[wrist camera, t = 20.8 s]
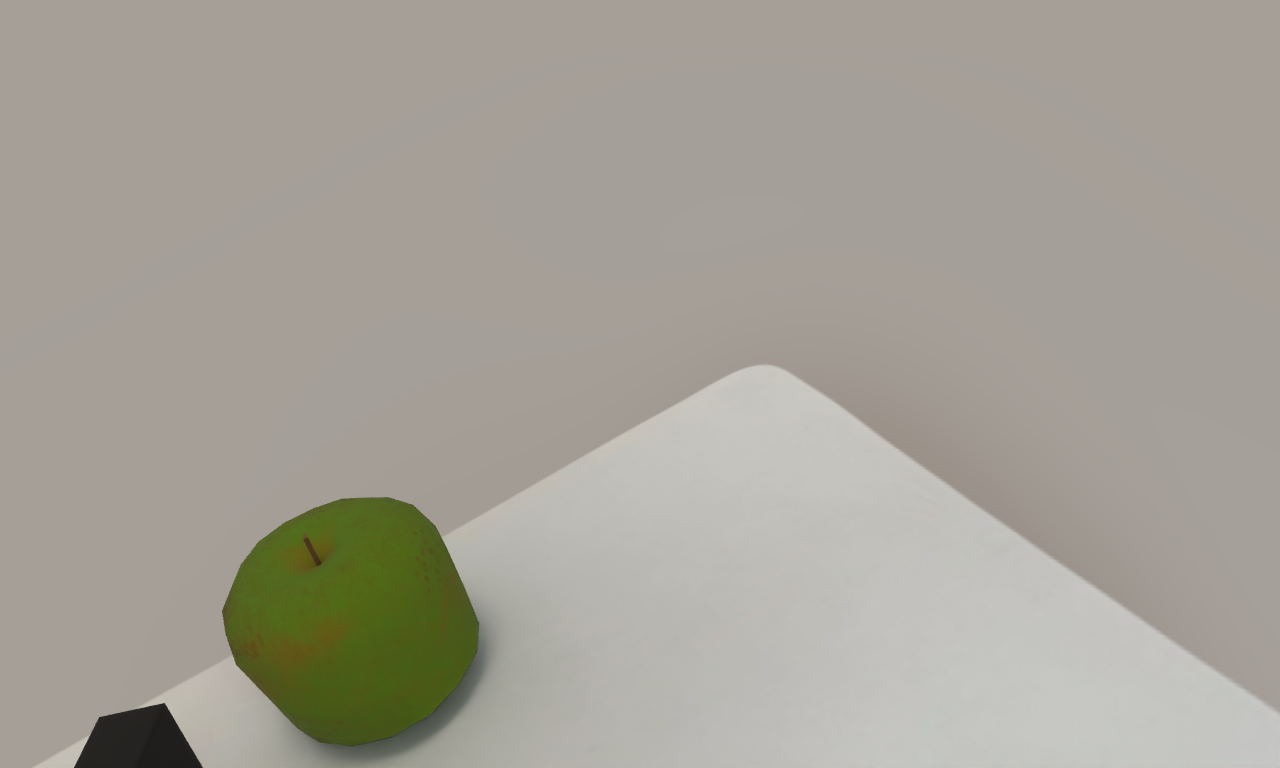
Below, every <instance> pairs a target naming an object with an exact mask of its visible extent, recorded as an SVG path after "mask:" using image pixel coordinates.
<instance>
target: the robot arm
mask: <svg viewBox="0 0 1280 768" xmlns="http://www.w3.org/2000/svg"><path fill="white" fill-rule="evenodd" d="M74 768H203V767H202V766H201V764H200V762H199V760H198V759H197V757H196V755H195V754H194V752H193V750H192V749H191V747H190V745H189V743H188V742H187V740H186V738H185V737H184V735H183V733H182V732H181V730H180V728H179V727H178V725H177V723H176V721H175V720H174V718H173V716H172V715H171V713H170V711H169V710H168V708H167V706H166V705H165V703H163V704H158V705H154V706H149V707H144V708H140V709H135V710H130V711H126V712H121V713H117V714H112V715H108V716H103V717H99V719H98V721H97V723H96V725H95V727H94V729H93V731H92V733H91V735H90V737H89V739H88V741H87V743H86V745H85V747H84V749H83V751H82V753H81V755H80V757H79V759H78V761H77V763H76V765H75V767H74Z"/></svg>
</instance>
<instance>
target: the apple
mask: <svg viewBox="0 0 1280 768" xmlns="http://www.w3.org/2000/svg"><path fill="white" fill-rule="evenodd" d="M222 613H223V618H224V626H225V632H226V636H227V639H228V642H229V645H230V648H231V651H232V654H233V657H234V660H235V662H236V665H237V666H238V667H239V668H240V669H241V670H242V671H243V672H244V673H245V674H246V675H247V676H248V677H249V679H250V680H251V681H252V682H253V683H254V684H255V685H256V686H257V687H258V688H259V689H260V690H261V691H262V692H263V693H264V694H265V695H266V696H267V697H268V698H269V699H270V700H271V701H272V702H273V703H274V704H275V705H276V706H277V707H278V708H279V709H280V711H281V712H282V713H283V714H284V715H285V716H286V717H287V718H288V719H289V720H290V721H291V722H292V723H293V724H294V725H295V726H296V727H297V728H298V729H300V730H301V731H303V732H304V733H306V734H307V735H309V736H311V737H312V738H314V739H315V740H317V741H318V742H322V743H330V744H339V745H347V746H354V745H358V744H363V743H367V742H372V741H376V740H380V739H385V738H389V737H392V736H394V735H396V734H397V733H399V732H401V731H403V730H404V729H406V728H408V727H410V726H411V725H413V724H415V723H417V722H418V721H420V720H422V719H424V718H425V717H427V716H429V715H430V714H431V713H432V712H433V711H434V710H435V709H436V708H437V707H438V706H439V705H440V704H441V703H442V701H443V700H444V699H445V698H446V697H447V696H448V695H449V694H450V693H451V692H452V691H453V690H454V689H455V688H456V687H457V685H458V684H459V683H460V681H461V679H462V678H463V676H464V674H465V672H466V671H467V669H468V667H469V665H470V663H471V662H472V660H473V658H474V656H475V655H476V653H477V644H478V631H479V622H478V620H477V617H476V615H475V612H474V610H473V607H472V605H471V602H470V600H469V598H468V595H467V593H466V590H465V588H464V585H463V583H462V581H461V579H460V577H459V574H458V572H457V570H456V568H455V565H454V563H453V561H452V559H451V556H450V554H449V552H448V550H447V548H446V546H445V544H444V542H443V540H442V538H441V536H440V534H439V532H438V530H437V528H436V526H435V525H434V524H433V523H432V522H431V521H430V520H429V519H427V518H426V517H425V516H424V515H423V514H422V513H421V512H420V511H419V510H418V509H417V508H416V507H414V505H412V504H408V503H405V502H402V501H399V500H395V499H392V498H389V497H388V498H387V497H386V498H349V499H340V500H337V501H334V502H331V503H328V504H325V505H322V506H319V507H316V508H314V509H311V510H309V511H307V512H305V513H303V514H301V515H299V516H297V517H295V518H293V519H291V520H289V521H287V522H285V523H284V524H282V525H281V526H279V527H278V528H277V529H275V530H274V531H273V532H271V533H270V534H269V535H267V536H266V537H264V538H263V539H262V540H260V541H259V542H258V543H257V545H256V546H255V547H254V549H253V550H252V551H251V553H250V554H249V555H248V556H247V558H246V559H245V560H244V562H243V563H242V564H241V566H240V568H239V571H238V573H237V576H236V578H235V580H234V583H233V585H232V588H231V590H230V593H229V595H228V598H227V600H226V603H225V605H224V607H223V610H222Z"/></svg>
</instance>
